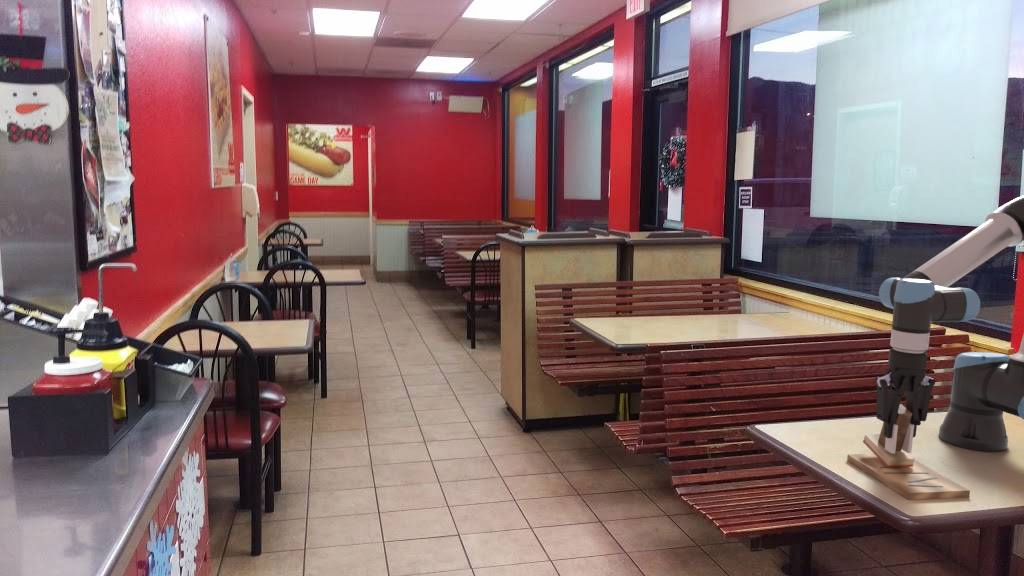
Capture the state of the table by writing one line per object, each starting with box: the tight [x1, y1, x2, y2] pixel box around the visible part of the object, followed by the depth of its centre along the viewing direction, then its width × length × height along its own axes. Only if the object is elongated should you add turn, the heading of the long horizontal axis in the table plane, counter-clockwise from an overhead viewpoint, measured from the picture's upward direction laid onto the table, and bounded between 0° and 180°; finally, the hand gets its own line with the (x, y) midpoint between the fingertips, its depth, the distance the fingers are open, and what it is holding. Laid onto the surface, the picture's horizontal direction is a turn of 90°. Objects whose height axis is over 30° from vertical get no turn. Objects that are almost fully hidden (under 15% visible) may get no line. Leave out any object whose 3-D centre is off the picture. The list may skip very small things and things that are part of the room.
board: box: [846, 453, 971, 501], centre depth 171 cm, size 14×22×2 cm, turn 9°
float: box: [862, 403, 916, 468], centre depth 175 cm, size 6×10×12 cm, turn 9°
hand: (897, 450), depth 174 cm, fingers closed on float, 3 cm apart
